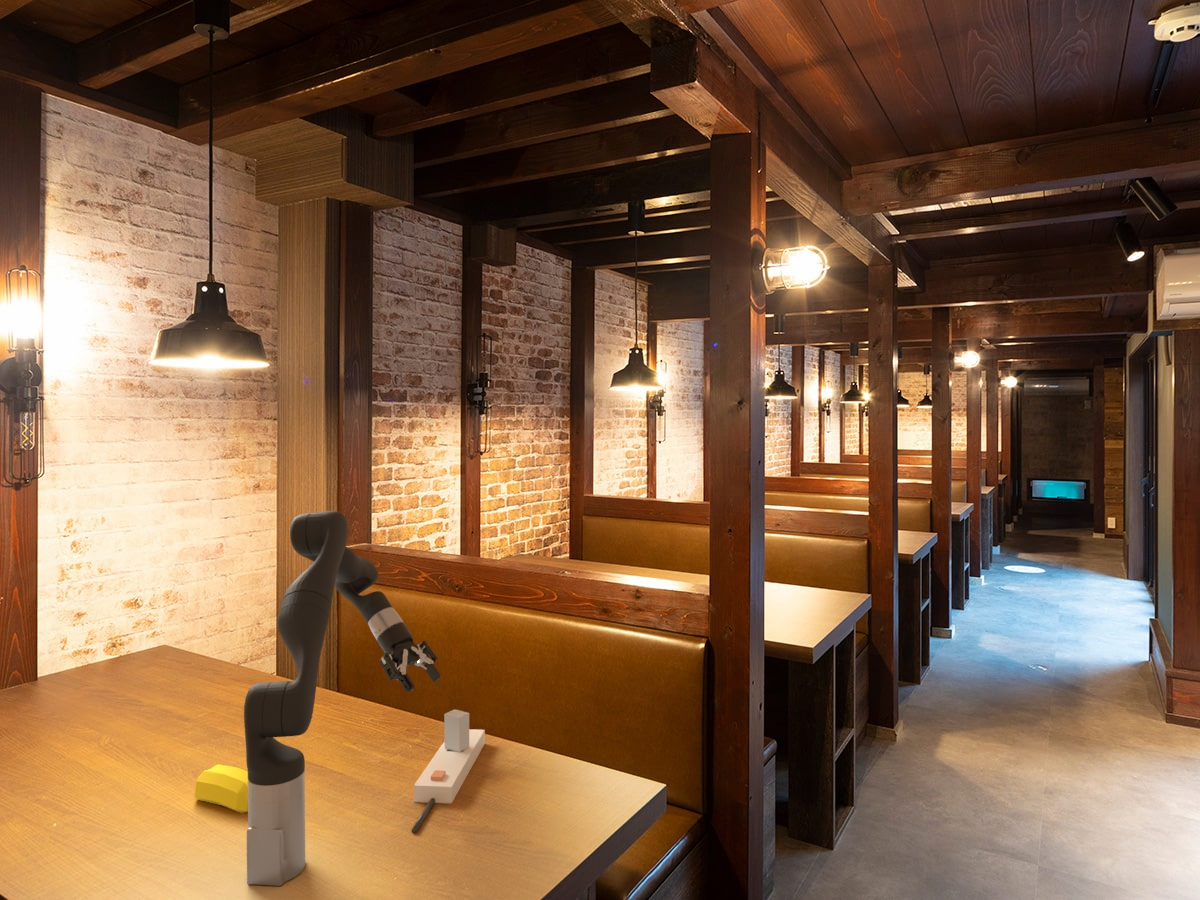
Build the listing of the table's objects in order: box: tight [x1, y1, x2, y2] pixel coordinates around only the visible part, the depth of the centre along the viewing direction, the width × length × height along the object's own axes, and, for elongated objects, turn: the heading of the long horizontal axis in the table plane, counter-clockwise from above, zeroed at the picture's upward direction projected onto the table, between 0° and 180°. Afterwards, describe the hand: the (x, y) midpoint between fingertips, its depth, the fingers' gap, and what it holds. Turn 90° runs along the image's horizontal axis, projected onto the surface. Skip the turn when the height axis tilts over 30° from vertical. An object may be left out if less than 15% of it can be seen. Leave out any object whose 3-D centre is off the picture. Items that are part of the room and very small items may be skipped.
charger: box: [443, 709, 470, 752], centre depth 177 cm, size 4×4×10 cm
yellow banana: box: [194, 763, 248, 814], centre depth 159 cm, size 18×7×8 cm
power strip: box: [411, 728, 486, 834], centre depth 167 cm, size 42×8×4 cm, turn 175°
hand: (424, 684), depth 182 cm, fingers open, 8 cm apart
